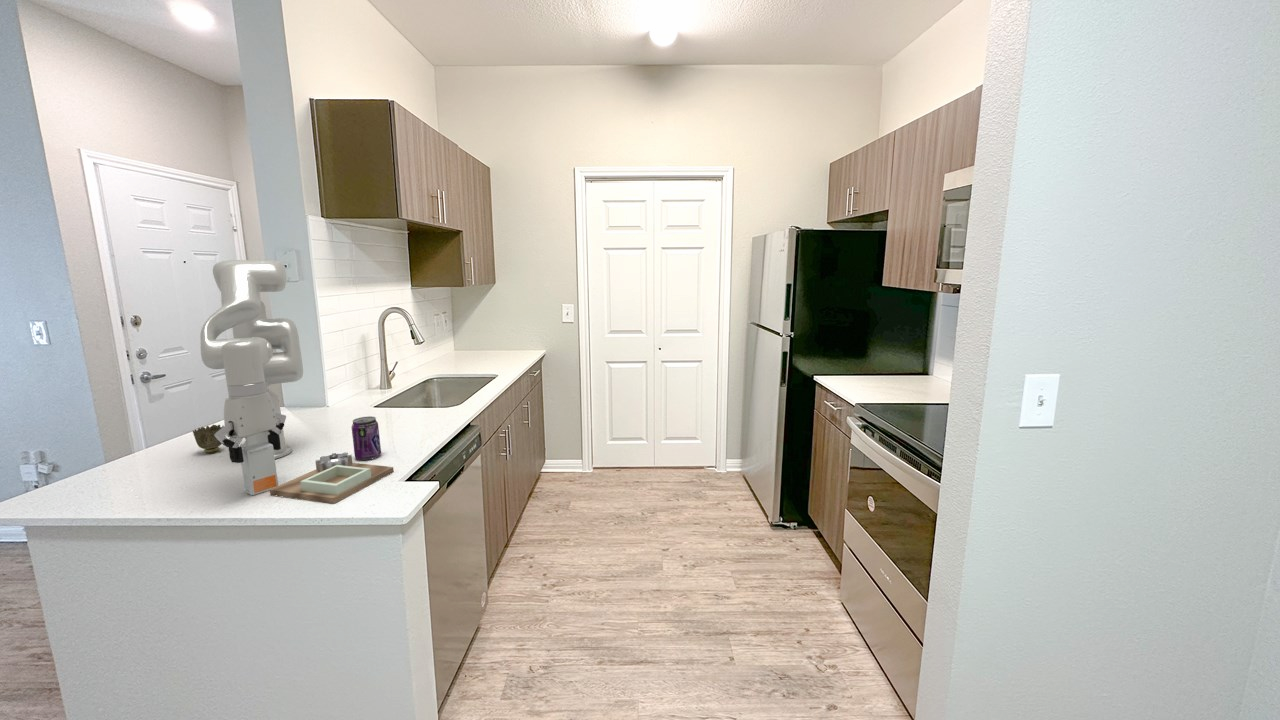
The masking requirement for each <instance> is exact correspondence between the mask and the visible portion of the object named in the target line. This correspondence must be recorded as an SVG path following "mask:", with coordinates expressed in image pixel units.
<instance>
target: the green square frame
mask: <svg viewBox="0 0 1280 720" xmlns="http://www.w3.org/2000/svg"><path fill="white" fill-rule="evenodd" d="M338 475H339V476H347V477H348V478H346V479H344V480H342V481H340V482H338V483H336V484H335V483H327V482H325V481H327V480H329V479H331V478H333V477H335V476H338ZM369 478H371V470H370V469H369V468H360V467H351V466H342V465H335V466H333V467H331V468H329V469H327V470H324V471H322V472H320V473H318V474H315V475H313V476H311V477H309V478H307V479H304V480H302V481H300V483H301V490H302V491H308V492H316V493H324V494H332V495H339V494H340V493H342V492H344V491H346V490H348V489H350V488H352V487H354V486H356V485H358V484H360V483H362V482H364V481H365V480H367V479H369Z"/></svg>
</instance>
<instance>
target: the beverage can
mask: <svg viewBox="0 0 1280 720" xmlns="http://www.w3.org/2000/svg"><path fill="white" fill-rule="evenodd" d="M379 429H380V428H379V423H378V420H377V418H376V416H362V417H357V418H355V419H353V420H352V425H351V434H352V442H353V443H352V444H353V452H354V453H353V454H354V458H355V459H357V460H360V461H369V460H373V459H376V458H377V457H379V456H380V455H381V454H382V448H381V439H380V430H379ZM375 457H376V458H375ZM372 458H373V459H372ZM368 459H369V460H368Z"/></svg>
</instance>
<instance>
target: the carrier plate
mask: <svg viewBox="0 0 1280 720" xmlns="http://www.w3.org/2000/svg"><path fill="white" fill-rule="evenodd" d="M352 464H353V466H351V467H360V468H369V469H370V470H371V478H369V479H367V480H365V481H364V482H362V483H360V484H358V485H356V486H354V487H352V488H350V489H348V490H346V491H344V492H342V493H340V494H339V495H332V494H324V493H316V492H308V491H302V490H301V483H300V481H302V480H304V479H307V478H309V477H311V476H313V475H315V474H318V473H320V471H319V472H317V469H314V470H311V471H310V472H306V473H304V474H302V475H300V476H298V477H296V478H293V479H291V480H288V481H287V482H284V483H282V484H278V486H277V487H275V488H272V489H270V490H269V495H270V496H272V495H277V496H276V497H279V496H283V497H282V498H287V497H291V498H290V499H294V498H297V499H296V500H302V499H303V500H304V501H310V500H311V502H319V503H325V504H326V503H327V504H333V505H335V504H337V503H338V502H342V501H343V500H344V499H346V498H348V497H350V496H353V494H355V493H357V492H359V491H361V490H363V489H365V488H367V487H368V486H371V485H372V484H374V483H376V482H378V481H380V480H382V479H384V478H385V477H388V476H389V475H391V474H392V472H393V473H394V470H395V469H394V466H386V465H380V464H378V465H376V464H370V463H359V462H352ZM390 473H391V474H390ZM388 474H389V475H388ZM383 477H384V478H383ZM346 478H348V477H347V476H339V475H338V476H335V477H333V478H331V479H329V480H327V481H325V482H327V483H335V484H336V483H338V482H340V481H342V480H344V479H346ZM381 478H382V479H381ZM379 479H380V480H379Z"/></svg>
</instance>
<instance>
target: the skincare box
mask: <svg viewBox="0 0 1280 720" xmlns="http://www.w3.org/2000/svg"><path fill="white" fill-rule="evenodd" d="M242 453H243V459H244V461H243V462H242V463H240V464H241V470H242V471H241V472H242V476H243V483H244V484H243V486H244V491H245V492H246V493H247V494H249V495H251V496H252V495H253V496H256V495H259V494H261V493H262V494H263V493H265V492H268V491H270V489H272V488H275V487H277V486H279V483H278V482H279V481H278V475H277V474H278V473H277V468H276V467H277V466H276V459H275V457H274V449H273V444H270V443H267V442H263V443H259V444H254V445H251V446H248V447H244V448H242Z"/></svg>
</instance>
